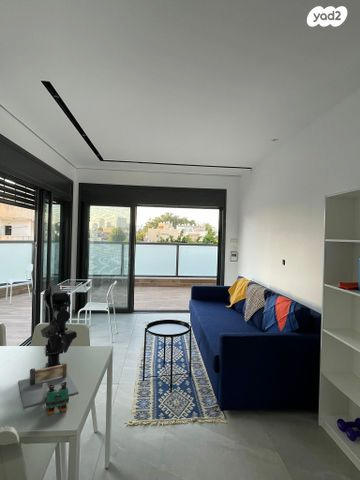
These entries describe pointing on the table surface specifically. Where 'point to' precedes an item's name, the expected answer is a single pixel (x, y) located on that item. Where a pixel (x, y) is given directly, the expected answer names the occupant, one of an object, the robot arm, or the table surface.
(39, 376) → the wooden bar with ends
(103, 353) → the table surface
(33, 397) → the gate base
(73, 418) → the table surface
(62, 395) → the binoculars
